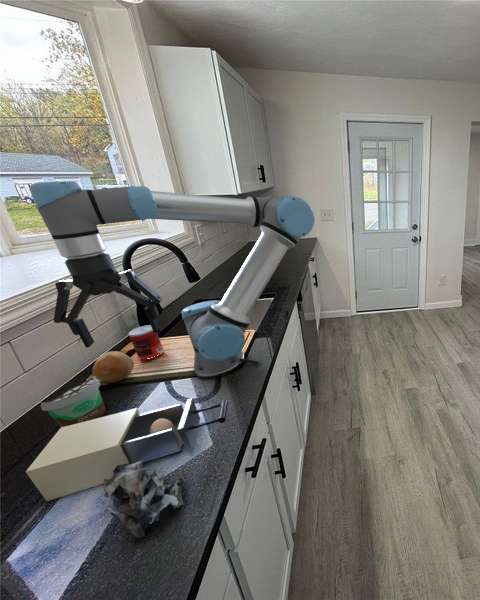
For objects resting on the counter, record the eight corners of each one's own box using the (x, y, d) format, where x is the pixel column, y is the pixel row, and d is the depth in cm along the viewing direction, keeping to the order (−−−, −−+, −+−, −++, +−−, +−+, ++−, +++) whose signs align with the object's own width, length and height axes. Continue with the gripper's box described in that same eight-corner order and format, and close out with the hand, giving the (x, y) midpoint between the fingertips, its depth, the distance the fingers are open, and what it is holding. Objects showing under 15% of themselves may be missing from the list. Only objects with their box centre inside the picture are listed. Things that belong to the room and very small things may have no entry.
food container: (74, 437, 81) (56, 406, 77) (56, 434, 82) (37, 404, 78) (122, 404, 92) (108, 376, 88) (106, 402, 93) (91, 374, 89)
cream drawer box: (149, 434, 80) (137, 407, 77) (132, 474, 69) (117, 445, 66) (77, 455, 75) (60, 427, 72) (46, 501, 64) (25, 471, 61)
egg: (166, 446, 73) (158, 428, 71) (150, 445, 74) (141, 427, 72) (181, 432, 77) (173, 414, 75) (165, 431, 78) (157, 413, 76)
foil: (87, 557, 51) (91, 464, 58) (122, 554, 59) (122, 473, 67) (171, 519, 55) (165, 436, 63) (192, 521, 64) (185, 448, 71)
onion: (97, 381, 104) (84, 355, 100) (134, 367, 110) (123, 342, 107) (102, 392, 98) (88, 365, 94) (141, 377, 104) (129, 351, 101)
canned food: (162, 348, 122) (152, 323, 118) (166, 355, 117) (156, 329, 113) (138, 356, 117) (126, 330, 113) (141, 364, 112) (129, 337, 108)
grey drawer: (232, 409, 86) (226, 389, 83) (229, 438, 76) (221, 416, 73) (139, 435, 79) (129, 414, 76) (122, 472, 69) (109, 449, 66)
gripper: (156, 243, 78) (184, 319, 86) (20, 261, 69) (67, 344, 77) (148, 249, 72) (179, 330, 80) (-2, 269, 62) (51, 359, 71)
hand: (124, 337), depth 78 cm, fingers open, 13 cm apart
